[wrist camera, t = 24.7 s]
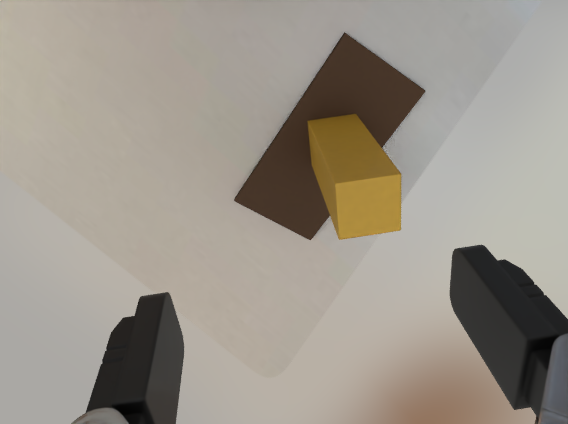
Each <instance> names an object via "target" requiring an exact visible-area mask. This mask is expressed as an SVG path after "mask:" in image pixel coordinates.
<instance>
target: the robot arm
mask: <svg viewBox="0 0 568 424" xmlns="http://www.w3.org/2000/svg"><path fill="white" fill-rule="evenodd" d="M450 300H451V304H452V307H453V310H454V312H455V314H456V316H457V317H458V319H459V320H460V322H461V324H462V326H463V327H464V329H465V331H466V332H467V334H468V335H469V337H470V339H471V340H472V342H473V344H474V345H475V347H476V348H477V350H478V352H479V353H480V355H481V357H482V358H483V360H484V362H485V363H486V365H487V366H488V368H489V370H490V371H491V373H492V375H493V376H494V378H495V379H496V381H497V383H498V384H499V386H500V387H501V389H502V391H503V393H504V394H505V396H506V397H507V399H508V401H509V402H510V404H511V406H512V407H513V409H514V410H516V409H523V408H528V407H531V408H532V410H533V411H534V413H535V414H536V420H535V424H568V319H567V318H566V317H565V316H564V315H563V314H562V312H561V311H560V310H559V309H558V308H557V307H556V306H555V305H554V304H553V303H552V302H551V300H550V299H549V298H548V297H547V296H546V295H545V296H544V293H543V292H542V291H541V289H540V288H539V287H538V286H537V285H534V282H533V280H532V279H531V278H530V277H529V276H528V275H527V274H526V273H525V272H524V271H523V269H521V268H519V267H517V266H516V265H514V264H512V263H510V262H509V261H507V260H499V261H497V260H496V259H495V257H494V256H493V255H492V254H491V253H490V252H489V250H488V249H487V248H486V247H485V246H483V245H477V246H470V247H464V248H457V249H455V250H454V251H453V255H452V268H451V280H450ZM106 349H107V351H105V354H104V357H103V360H102V361H103V363H102V364H101V366H100V369H99V373H98V376H97V379H96V382H95V385H94V388H93V391H92V395H91V398H90V401H89V404H88V407H87V410H86V413H85V414H83V415H82V416H80V417H79V418H77V419H76V420H75V421H74V422H73V423H71V424H176V416H177V408H178V399H179V391H180V383H181V374H182V366H183V358H184V342H183V335H182V331H181V328H180V325H179V322H178V318H177V315H176V312H175V309H174V305H173V302H172V299H171V296H170V294H169V293H168V292H166V293H159V294H153V295H147V296H141V297H140V299H139V302H138V305H137V309H136V313H135V316H131V317H125V318H123V319H122V320H121V321H120V322H119V324H118V325H117V326H116V327H115V328H114V330H113V331H112V332H111V335H110V338H109V341H108V344H107V348H106Z"/></svg>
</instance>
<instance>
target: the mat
mask: <svg viewBox="0 0 568 424" xmlns="http://www.w3.org/2000/svg"><path fill="white" fill-rule="evenodd" d="M424 93H425V90H424V89H422V88H421V87H419V86H418V85H417V84H415V83H414V82H412V81H411V80H410V79H408V78H407V77H405V76H404V75H403V74H401V73H400V72H399V71H397V70H396V69H394V68H393V67H392V66H390V65H389V64H387V63H386V62H385V61H383V60H382V59H380V58H379V57H378V56H376V55H375V54H374V53H372V52H371V51H369V50H368V49H367V48H365V47H364V46H362V45H361V44H360V43H358V42H357V41H356V40H354V39H353V38H351V37H350V36H349V35H347V34H346V33H344V34H343V36H342V37H341V39H340V40H339V42H338V43H337V45H336V47H335V48H334V50H333V51H332V53H331V54H330V56H329V57H328V59H327V60H326V62H325V63H324V65H323V66H322V68H321V69H320V71H319V72H318V74H317V75H316V77H315V78H314V80H313V81H312V83H311V84H310V86H309V87H308V89H307V90H306V92H305V93H304V95H303V96H302V98H301V99H300V101H299V102H298V104H297V105H296V107H295V108H294V110H293V111H292V113H291V114H290V116H289V118H288V119H287V121H286V122H285V124H284V125H283V127H282V128H281V130H280V131H279V133H278V134H277V136H276V137H275V139H274V140H273V142H272V143H271V145H270V146H269V148H268V149H267V151H266V152H265V154H264V155H263V157H262V158H261V160H260V161H259V163H258V164H257V166H256V167H255V169H254V170H253V172H252V173H251V175H250V176H249V178H248V179H247V181H246V182H245V184H244V185H243V187H242V188H241V190H240V192H239V193H238V195H237V196H236V198H235V199H234V201H235V202H237V203H239V204H241V205H243V206H245V207H247V208H249V209H251V210H253V211H255V212H257V213H259V214H261V215H262V216H264V217H266V218H268V219H270V220H272V221H274V222H276V223H278V224H280V225H282V226H284V227H286V228H288V229H290V230H292V231H294V232H295V233H297V234H299V235H301V236H303V237H305V238H307V239H309V240H311V239H312V238H313V236H314V235H315V234H316V233H317V231H318V230H319V229H320V227H321V226H322V225H323V223H324V222H325V221H326V220H327V218H328V217H329V216H330V214H329V211H328V208H327V205H326V203H325V200H324V197H323V195H322V192H321V189H320V186H319V184H318V181H317V178H316V175H315V173H314V170H313V167H312V163H311V152H310V142H309V132H308V122H307V121H309V120H316V119H323V118H330V117H337V116H344V115H351V114H356V115H357V116H358V117H359V119H360V120H361V121H362V123H363V124H364V125H365V127H366V128H367V129H368V131H369V132H370V133H371V135H372V136H373V137H374V139H375V140H376V141H377V143H378V144H379V145H380V147H381V148H382V147H383V146H384V144H385V143H386V142H387V140H388V139H389V138H390V137H391V135H392V134H393V133H394V131H395V130H396V129H397V128H398V126H399V125H400V124H401V122H402V121H403V120H404V118H405V117H406V116H407V115H408V113H409V112H410V111H411V109H412V108H413V107H414V105H415V104H416V103H417V102H418V100H419V99H420V98H421V96H422V95H423V94H424Z"/></svg>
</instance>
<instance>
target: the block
mask: <svg viewBox="0 0 568 424" xmlns="http://www.w3.org/2000/svg"><path fill="white" fill-rule="evenodd" d="M307 122H308V132H309V142H310V152H311V163H312V167H313V170H314V173H315V175H316V178H317V181H318V184H319V186H320V189H321V192H322V195H323V197H324V200H325V203H326V205H327V208H328V211H329V214H330V216H331V219H332V222H333V225H334V227H335V230H336V233H337V235H338V238H339V240H341V239H348V238H354V237H361V236H367V235H374V234H380V233H386V232H393V231H400V230H401V173H400V172H399V170H398V169H397V168H396V166H395V165H394V164H393V162H392V161H391V160H390V158H389V157H388V156H387V154H386V153H385V152H384V150H383V149H382V148H381V147H380V145H379V144H378V143H377V141H376V140H375V139H374V137H373V136H372V135H371V133H370V132H369V131H368V129H367V128H366V127H365V125H364V124H363V123H362V121H361V120H360V119H359V117H358V116H357V115H356V114H351V115H344V116H337V117H330V118H323V119H316V120H309V121H307Z"/></svg>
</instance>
